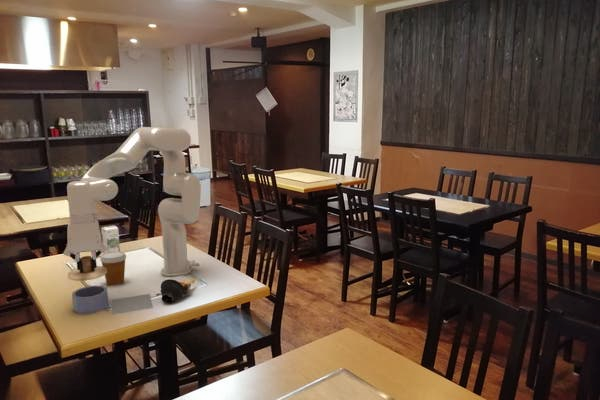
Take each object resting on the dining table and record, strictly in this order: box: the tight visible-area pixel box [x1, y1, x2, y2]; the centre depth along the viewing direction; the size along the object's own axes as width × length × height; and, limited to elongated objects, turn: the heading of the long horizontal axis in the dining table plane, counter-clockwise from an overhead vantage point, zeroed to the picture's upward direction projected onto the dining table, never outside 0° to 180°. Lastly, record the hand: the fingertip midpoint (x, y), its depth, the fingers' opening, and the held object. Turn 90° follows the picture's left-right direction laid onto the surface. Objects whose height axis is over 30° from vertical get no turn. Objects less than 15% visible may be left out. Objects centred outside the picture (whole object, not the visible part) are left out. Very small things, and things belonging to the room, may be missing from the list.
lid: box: [67, 255, 107, 282], centre depth 153 cm, size 12×12×6 cm
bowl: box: [71, 284, 109, 314], centre depth 156 cm, size 11×11×6 cm
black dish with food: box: [160, 277, 197, 304], centre depth 165 cm, size 9×11×18 cm
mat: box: [111, 293, 154, 315], centre depth 158 cm, size 13×13×1 cm
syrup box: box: [100, 225, 121, 254], centre depth 209 cm, size 6×6×14 cm
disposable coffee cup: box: [99, 251, 127, 287], centre depth 177 cm, size 10×10×12 cm
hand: (87, 270), depth 153 cm, fingers closed on lid, 3 cm apart
